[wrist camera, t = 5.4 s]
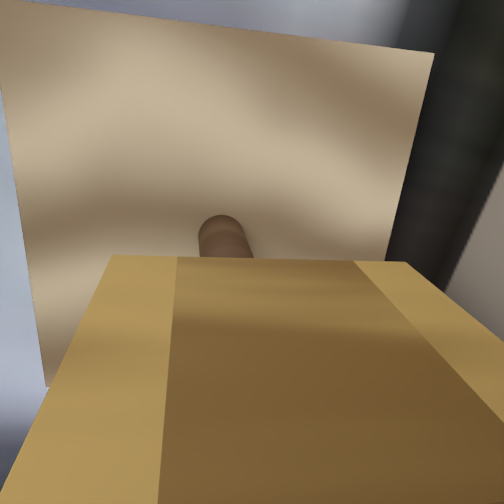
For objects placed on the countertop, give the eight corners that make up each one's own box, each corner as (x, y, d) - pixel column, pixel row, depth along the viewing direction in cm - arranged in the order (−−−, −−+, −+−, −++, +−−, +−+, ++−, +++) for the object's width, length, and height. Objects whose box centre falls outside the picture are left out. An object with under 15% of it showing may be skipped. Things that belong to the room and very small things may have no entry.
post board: (346, 357, 22) (391, 434, 17) (55, 366, 20) (10, 461, 15) (413, 56, 16) (513, 41, 11) (7, 5, 13) (-100, -44, 8)
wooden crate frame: (351, 459, 10) (474, 746, 6) (124, 475, 9) (62, 837, 5) (405, 261, 8) (679, 485, 4) (112, 254, 7) (-29, 553, 3)
